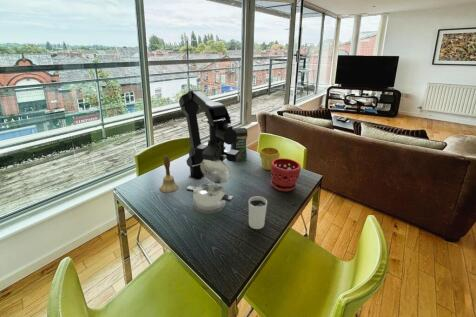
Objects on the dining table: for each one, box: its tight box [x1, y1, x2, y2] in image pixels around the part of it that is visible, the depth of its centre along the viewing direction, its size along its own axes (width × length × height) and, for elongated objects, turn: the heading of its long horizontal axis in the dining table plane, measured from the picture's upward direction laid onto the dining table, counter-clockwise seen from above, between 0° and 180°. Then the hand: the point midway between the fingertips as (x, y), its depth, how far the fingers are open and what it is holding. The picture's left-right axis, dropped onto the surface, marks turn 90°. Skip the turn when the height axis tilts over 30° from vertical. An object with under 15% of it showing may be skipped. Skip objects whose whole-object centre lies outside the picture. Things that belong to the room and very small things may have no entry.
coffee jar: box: [229, 127, 249, 162], centre depth 143 cm, size 10×8×19 cm
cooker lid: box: [200, 158, 231, 185], centre depth 106 cm, size 13×13×2 cm
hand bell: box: [159, 155, 179, 193], centre depth 114 cm, size 8×8×16 cm
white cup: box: [248, 195, 268, 230], centre depth 93 cm, size 7×7×10 cm
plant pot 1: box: [259, 146, 281, 171], centre depth 135 cm, size 10×10×10 cm
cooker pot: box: [185, 183, 234, 215], centre depth 105 cm, size 20×14×6 cm
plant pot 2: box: [270, 157, 302, 192], centre depth 117 cm, size 13×13×12 cm
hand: (217, 171), depth 107 cm, fingers closed, pressing on cooker lid
